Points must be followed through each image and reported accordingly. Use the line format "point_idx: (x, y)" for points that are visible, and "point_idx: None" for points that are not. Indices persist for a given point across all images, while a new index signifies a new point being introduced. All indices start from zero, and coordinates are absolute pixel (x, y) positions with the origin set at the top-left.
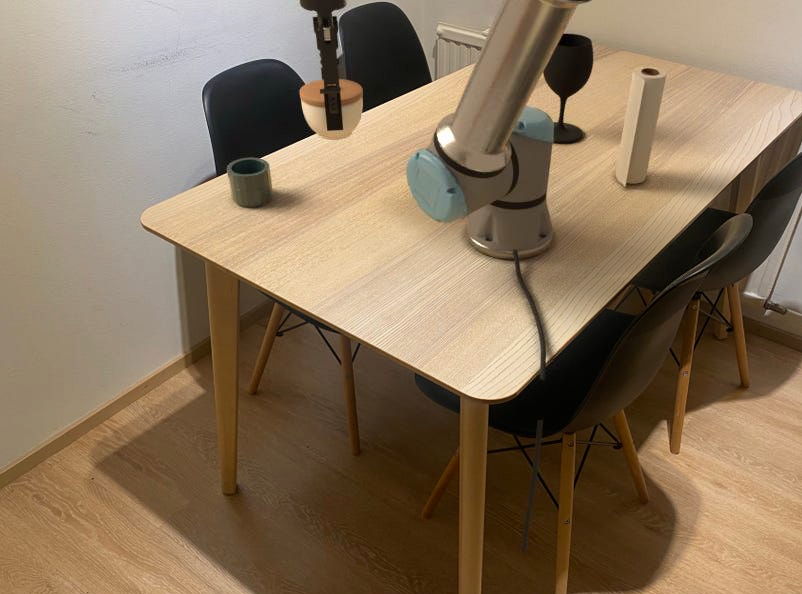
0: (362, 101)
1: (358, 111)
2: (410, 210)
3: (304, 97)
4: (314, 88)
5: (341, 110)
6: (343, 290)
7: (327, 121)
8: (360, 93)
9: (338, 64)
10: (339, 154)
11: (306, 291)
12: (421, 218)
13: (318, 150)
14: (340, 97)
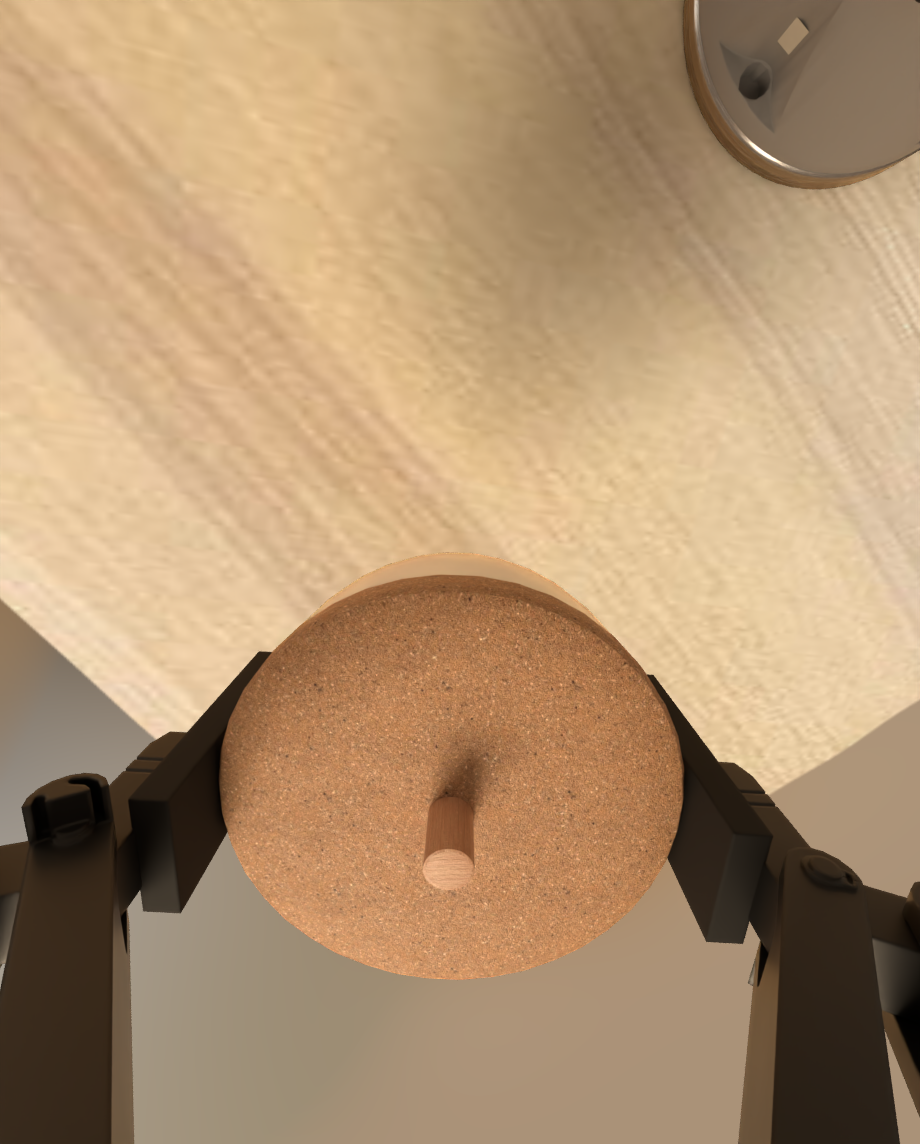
0: (481, 566)
1: (575, 599)
2: (558, 350)
3: (547, 961)
4: (428, 910)
5: (701, 740)
6: (909, 609)
7: None
8: (569, 614)
9: (109, 791)
10: (125, 529)
11: (875, 690)
12: (619, 323)
13: (93, 593)
14: (748, 803)
